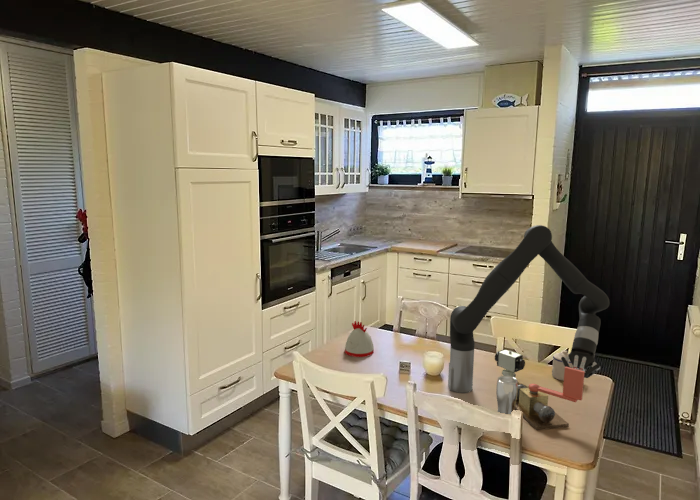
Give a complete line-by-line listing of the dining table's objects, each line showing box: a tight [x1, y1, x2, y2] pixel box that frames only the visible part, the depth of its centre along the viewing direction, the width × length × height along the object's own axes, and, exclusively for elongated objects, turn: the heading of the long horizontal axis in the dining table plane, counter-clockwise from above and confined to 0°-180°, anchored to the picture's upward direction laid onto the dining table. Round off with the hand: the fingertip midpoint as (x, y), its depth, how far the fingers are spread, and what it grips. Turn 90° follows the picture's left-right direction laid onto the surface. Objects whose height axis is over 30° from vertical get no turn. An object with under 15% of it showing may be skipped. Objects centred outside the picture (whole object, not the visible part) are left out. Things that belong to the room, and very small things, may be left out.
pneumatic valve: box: [494, 349, 526, 379], centre depth 203 cm, size 6×12×12 cm, turn 40°
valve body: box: [514, 383, 570, 431], centre depth 174 cm, size 22×12×9 cm, turn 10°
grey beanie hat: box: [344, 320, 375, 358], centre depth 231 cm, size 14×14×15 cm
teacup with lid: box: [551, 350, 573, 382], centre depth 205 cm, size 12×9×12 cm
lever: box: [528, 367, 586, 403], centre depth 167 cm, size 18×4×11 cm, turn 48°
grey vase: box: [495, 375, 519, 414], centre depth 168 cm, size 7×7×15 cm
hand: (575, 386), depth 164 cm, fingers closed
